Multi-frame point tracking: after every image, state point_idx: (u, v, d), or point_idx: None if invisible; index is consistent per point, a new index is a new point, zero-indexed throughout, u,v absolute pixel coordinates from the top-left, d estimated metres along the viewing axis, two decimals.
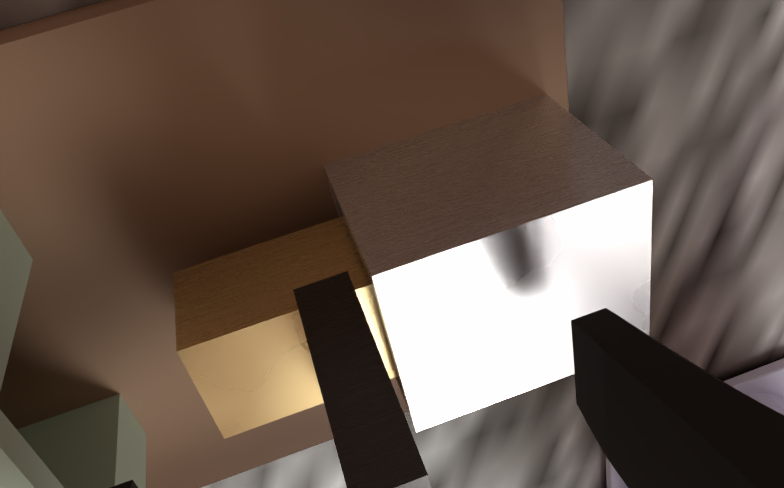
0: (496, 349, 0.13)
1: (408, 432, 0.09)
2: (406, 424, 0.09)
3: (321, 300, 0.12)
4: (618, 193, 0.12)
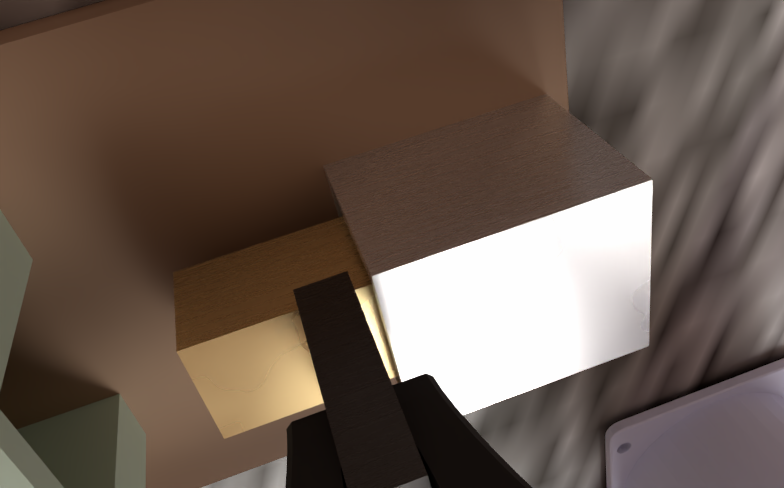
0: (496, 349, 0.13)
1: (408, 432, 0.09)
2: (406, 424, 0.09)
3: (321, 300, 0.12)
4: (618, 193, 0.12)
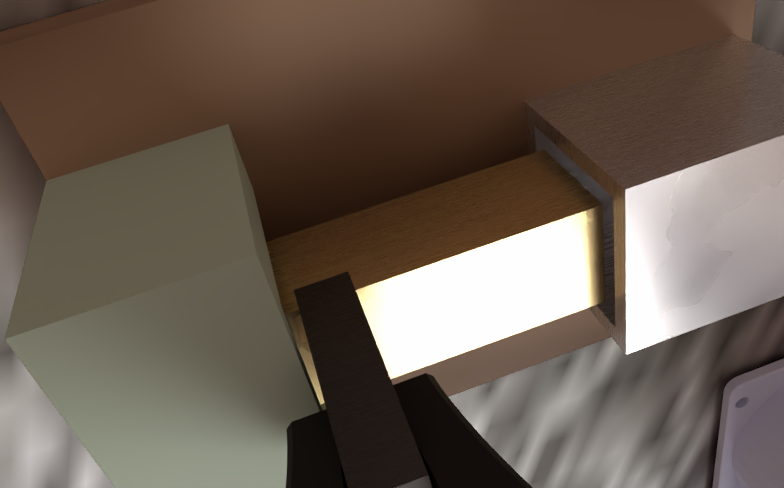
0: (713, 271, 0.13)
1: (409, 432, 0.09)
2: (407, 424, 0.09)
3: (322, 300, 0.12)
4: None
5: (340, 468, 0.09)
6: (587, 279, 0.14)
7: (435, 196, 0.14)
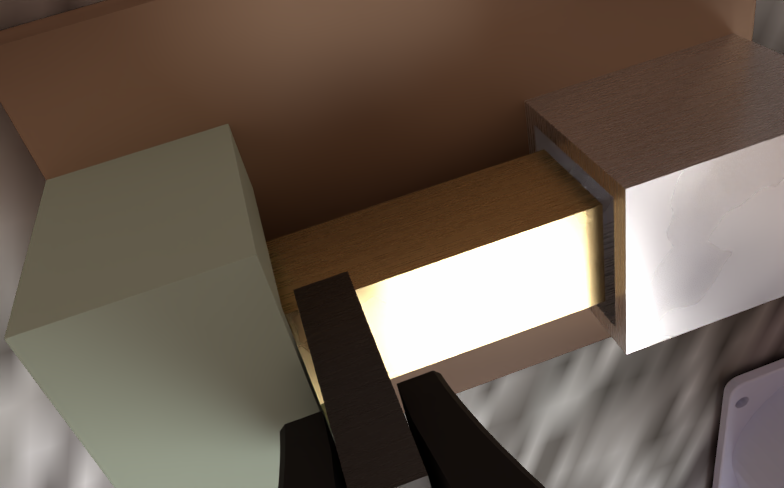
0: (713, 270, 0.13)
1: (408, 432, 0.09)
2: (406, 424, 0.09)
3: (322, 300, 0.12)
4: None
5: (332, 471, 0.09)
6: (587, 279, 0.14)
7: (434, 196, 0.14)
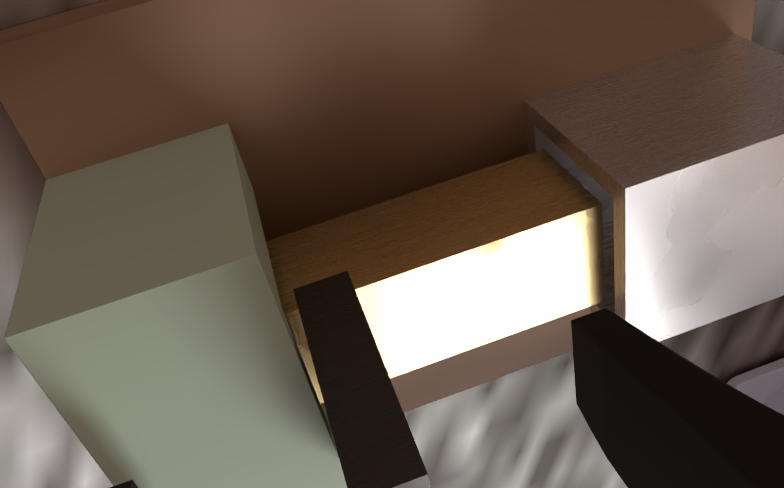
0: (713, 270, 0.13)
1: (408, 432, 0.09)
2: (406, 424, 0.09)
3: (321, 300, 0.12)
4: None
5: None
6: (586, 278, 0.14)
7: (434, 196, 0.14)
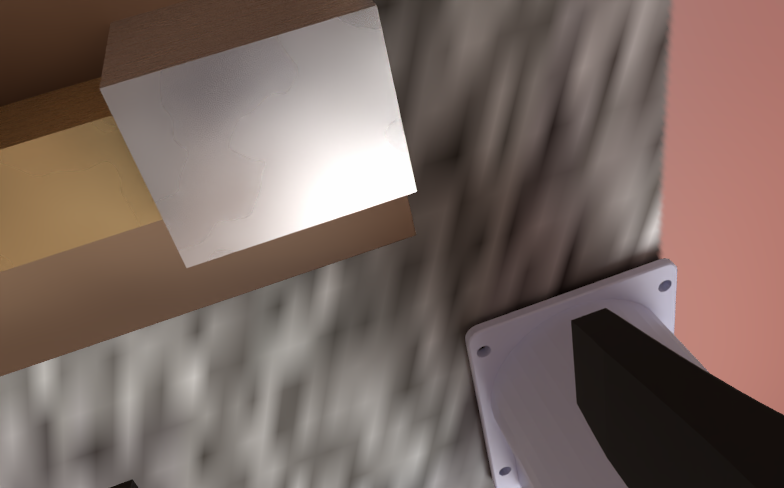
0: (252, 181, 0.14)
1: None
2: None
3: None
4: (345, 18, 0.13)
5: None
6: (138, 192, 0.14)
7: (0, 112, 0.14)
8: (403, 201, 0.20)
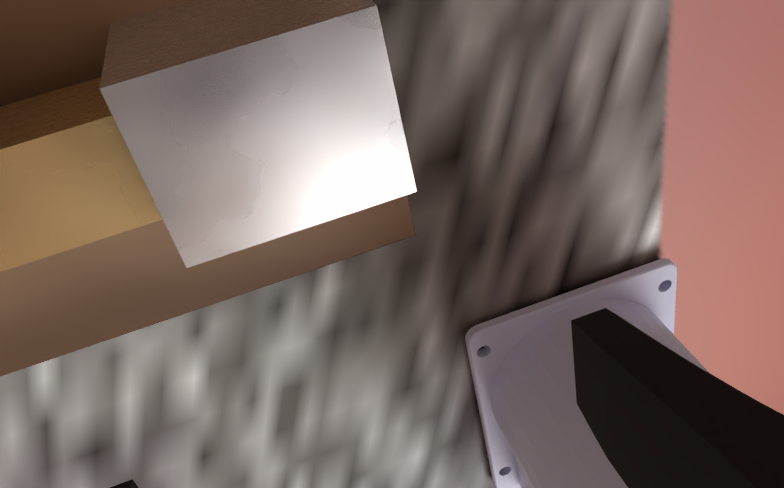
0: (252, 181, 0.14)
1: None
2: None
3: None
4: (345, 18, 0.13)
5: None
6: (138, 192, 0.14)
7: (0, 112, 0.14)
8: (403, 201, 0.20)
